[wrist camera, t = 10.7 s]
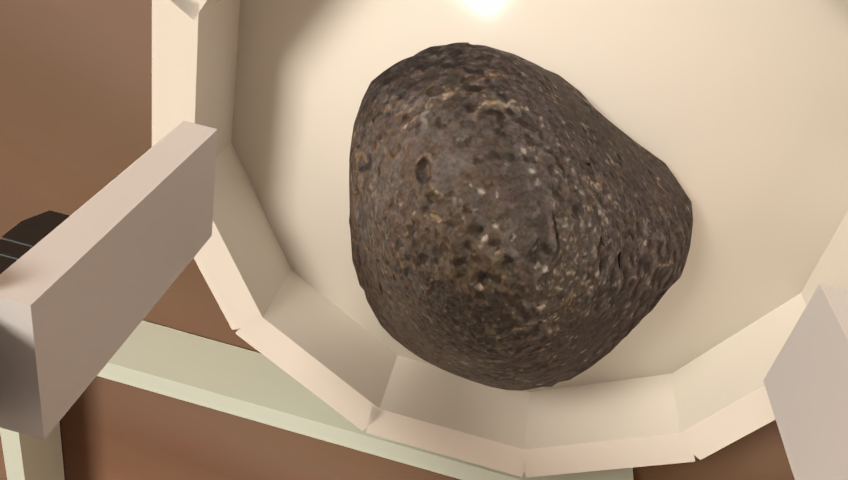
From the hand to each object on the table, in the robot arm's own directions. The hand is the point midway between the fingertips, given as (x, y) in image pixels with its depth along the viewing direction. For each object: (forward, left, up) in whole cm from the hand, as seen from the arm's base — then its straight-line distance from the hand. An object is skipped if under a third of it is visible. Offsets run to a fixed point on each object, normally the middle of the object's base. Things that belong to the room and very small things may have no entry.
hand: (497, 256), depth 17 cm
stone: (0, -1, -6) cm, 6 cm away
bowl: (0, 0, -7) cm, 7 cm away
